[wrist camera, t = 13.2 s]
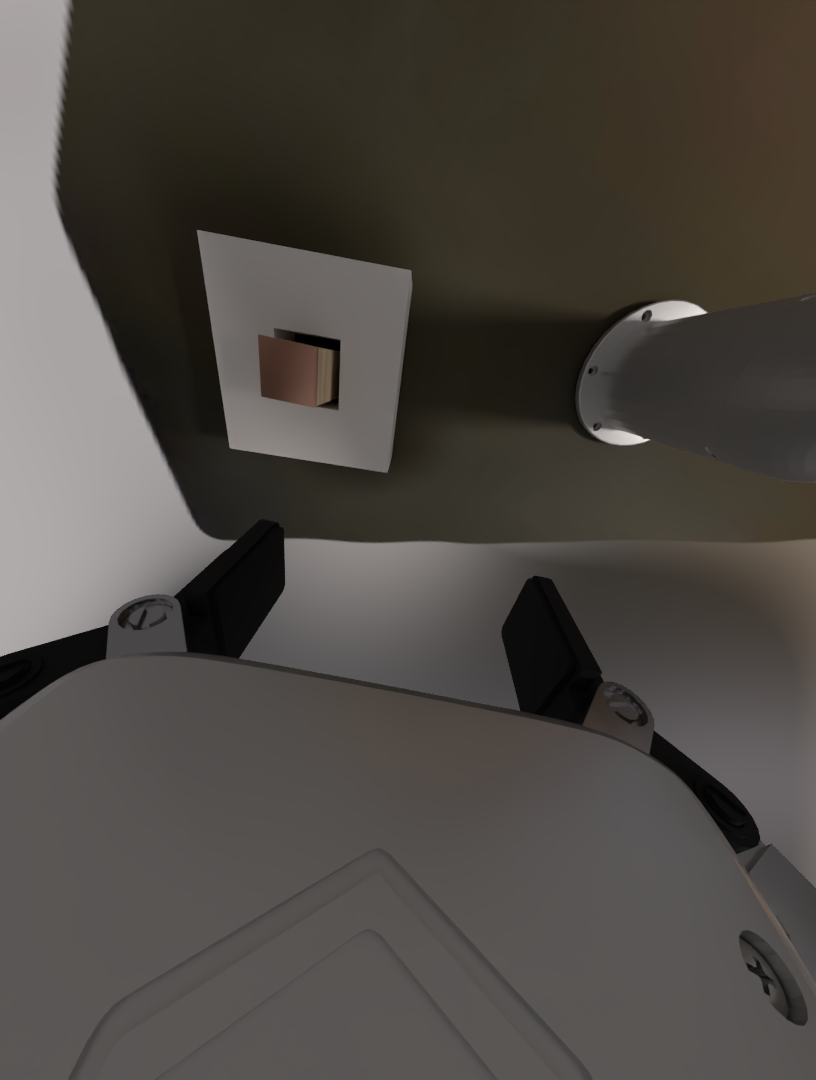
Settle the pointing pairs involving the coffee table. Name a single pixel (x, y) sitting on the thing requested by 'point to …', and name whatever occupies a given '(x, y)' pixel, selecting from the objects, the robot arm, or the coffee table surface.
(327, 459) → the socket block
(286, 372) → the maple peg
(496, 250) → the coffee table surface
